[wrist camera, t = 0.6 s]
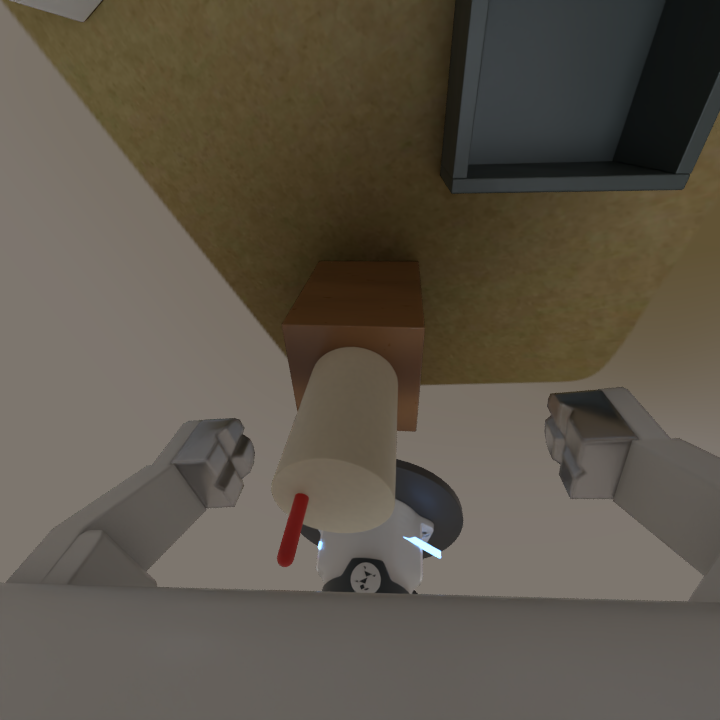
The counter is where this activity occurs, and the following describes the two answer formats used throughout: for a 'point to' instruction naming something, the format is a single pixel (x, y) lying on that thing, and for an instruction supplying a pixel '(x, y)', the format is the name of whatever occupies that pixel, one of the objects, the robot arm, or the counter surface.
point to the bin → (579, 94)
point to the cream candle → (340, 449)
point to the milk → (64, 7)
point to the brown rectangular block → (361, 323)
